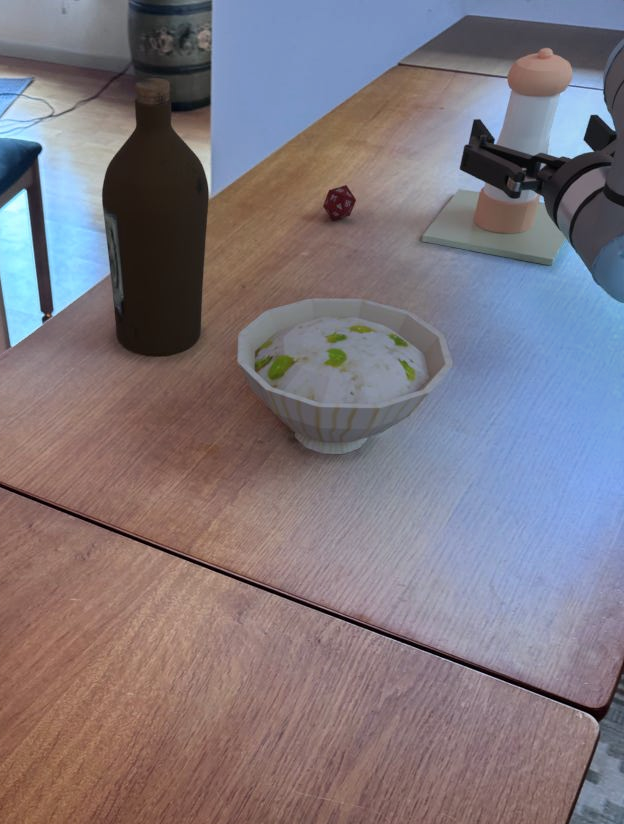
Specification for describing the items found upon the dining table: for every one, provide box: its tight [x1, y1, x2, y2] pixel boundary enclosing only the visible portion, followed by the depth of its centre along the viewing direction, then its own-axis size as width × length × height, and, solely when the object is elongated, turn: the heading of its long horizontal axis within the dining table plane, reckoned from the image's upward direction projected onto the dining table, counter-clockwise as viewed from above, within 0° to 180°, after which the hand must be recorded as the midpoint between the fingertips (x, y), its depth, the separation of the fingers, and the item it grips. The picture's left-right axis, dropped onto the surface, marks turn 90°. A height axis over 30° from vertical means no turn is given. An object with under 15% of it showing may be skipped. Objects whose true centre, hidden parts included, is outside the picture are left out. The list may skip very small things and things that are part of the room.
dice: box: [322, 184, 357, 222], centre depth 119 cm, size 4×4×4 cm
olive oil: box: [101, 77, 210, 357], centre depth 92 cm, size 11×11×25 cm
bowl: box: [237, 297, 454, 455], centre depth 84 cm, size 19×19×10 cm
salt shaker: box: [474, 47, 573, 233], centre depth 109 cm, size 7×7×19 cm
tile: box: [421, 188, 567, 267], centre depth 116 cm, size 16×16×1 cm
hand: (531, 129), depth 107 cm, fingers open, 13 cm apart
